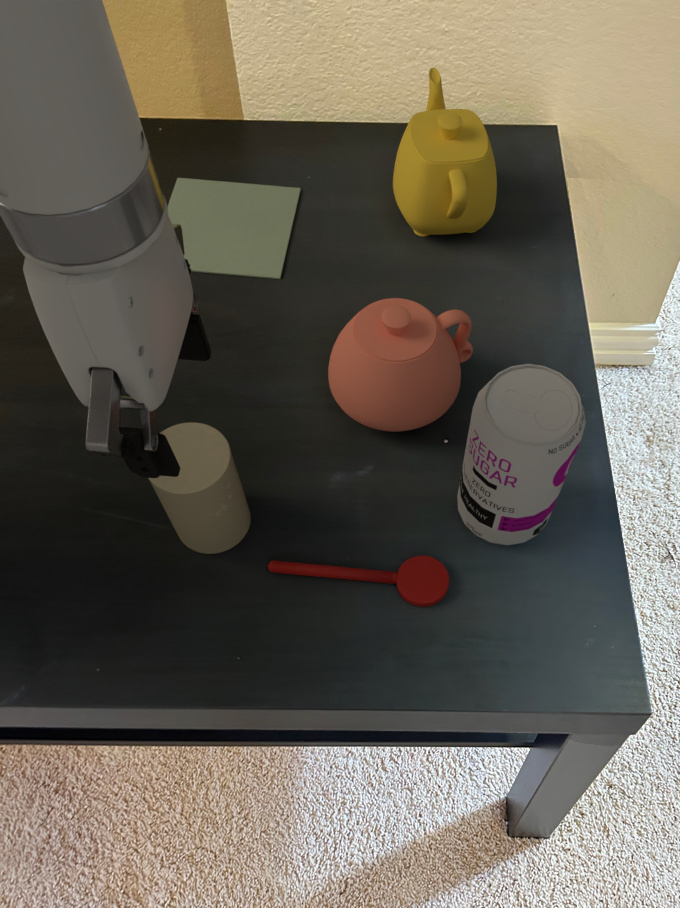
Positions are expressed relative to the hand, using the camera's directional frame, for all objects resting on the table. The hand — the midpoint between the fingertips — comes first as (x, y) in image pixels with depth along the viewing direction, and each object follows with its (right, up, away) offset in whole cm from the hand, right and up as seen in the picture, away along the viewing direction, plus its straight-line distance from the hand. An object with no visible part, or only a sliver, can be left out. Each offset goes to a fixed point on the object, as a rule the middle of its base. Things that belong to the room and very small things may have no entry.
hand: (173, 411), depth 51 cm
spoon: (+12, -12, +12) cm, 20 cm away
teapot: (+20, +28, +33) cm, 48 cm away
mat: (-4, +25, +30) cm, 40 cm away
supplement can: (+24, -6, +15) cm, 29 cm away
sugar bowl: (+16, +6, +21) cm, 27 cm away
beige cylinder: (-1, -7, +14) cm, 16 cm away
